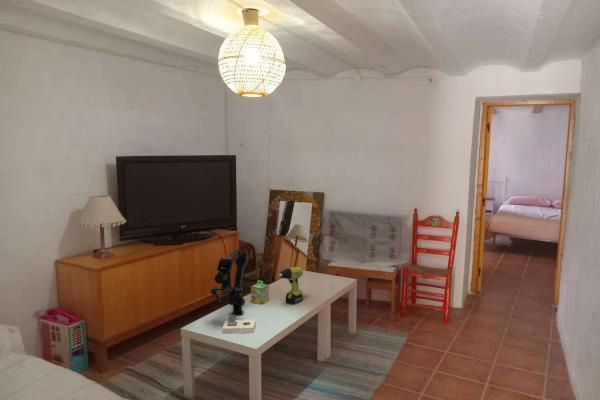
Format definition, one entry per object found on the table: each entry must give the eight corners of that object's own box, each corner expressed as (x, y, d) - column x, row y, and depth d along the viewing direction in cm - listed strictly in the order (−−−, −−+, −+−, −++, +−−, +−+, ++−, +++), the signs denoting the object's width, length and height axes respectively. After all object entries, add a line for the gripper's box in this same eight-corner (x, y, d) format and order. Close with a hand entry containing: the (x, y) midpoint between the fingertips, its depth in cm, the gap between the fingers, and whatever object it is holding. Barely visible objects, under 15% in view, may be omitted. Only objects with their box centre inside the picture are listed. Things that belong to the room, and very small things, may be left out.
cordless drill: (283, 309, 288) (282, 272, 285) (275, 307, 292) (274, 271, 289) (304, 299, 306) (304, 264, 303) (296, 297, 310) (296, 263, 307)
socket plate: (225, 325, 265) (225, 320, 264) (255, 324, 265) (255, 319, 265) (222, 333, 253) (222, 328, 252) (253, 332, 253) (253, 327, 253)
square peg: (229, 327, 261) (229, 314, 260) (236, 327, 261) (235, 314, 260) (228, 330, 257) (228, 317, 256) (235, 330, 257) (234, 317, 256)
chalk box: (250, 302, 302) (250, 282, 300) (258, 298, 310) (257, 278, 308) (262, 304, 297) (261, 283, 296) (269, 300, 306) (268, 280, 304)
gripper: (208, 283, 257) (209, 308, 259) (240, 282, 257) (241, 308, 259) (212, 277, 268) (213, 302, 270) (242, 276, 268) (243, 301, 270)
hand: (227, 303), depth 267 cm, fingers open, 9 cm apart
